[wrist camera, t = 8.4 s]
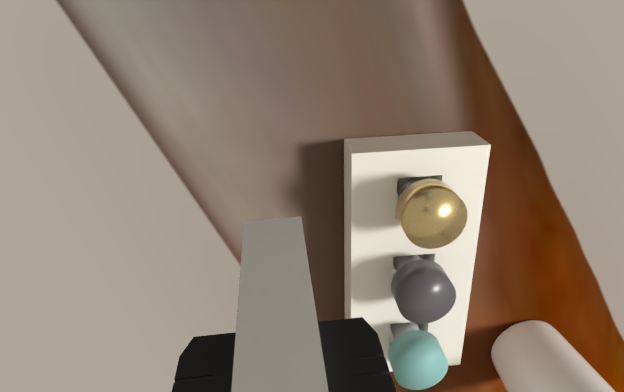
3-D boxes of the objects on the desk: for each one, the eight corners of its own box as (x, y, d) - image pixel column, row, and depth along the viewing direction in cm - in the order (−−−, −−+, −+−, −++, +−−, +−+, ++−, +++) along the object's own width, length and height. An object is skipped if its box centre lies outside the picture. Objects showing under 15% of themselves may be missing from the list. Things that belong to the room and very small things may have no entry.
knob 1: (384, 162, 42) (405, 193, 36) (440, 158, 42) (471, 188, 36) (382, 213, 44) (402, 251, 38) (435, 209, 44) (463, 246, 38)
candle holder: (579, 324, 55) (657, 409, 44) (535, 383, 58) (597, 475, 48) (510, 305, 52) (574, 390, 42) (469, 368, 56) (518, 461, 45)
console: (343, 138, 42) (351, 153, 38) (471, 130, 43) (490, 144, 39) (344, 348, 53) (350, 375, 49) (447, 338, 54) (460, 364, 50)
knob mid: (380, 237, 45) (399, 277, 39) (432, 233, 46) (459, 272, 40) (379, 281, 48) (396, 326, 41) (428, 277, 48) (453, 320, 42)
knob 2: (378, 304, 49) (395, 351, 42) (427, 300, 49) (450, 346, 43) (377, 342, 51) (393, 392, 45) (423, 338, 51) (445, 387, 45)
